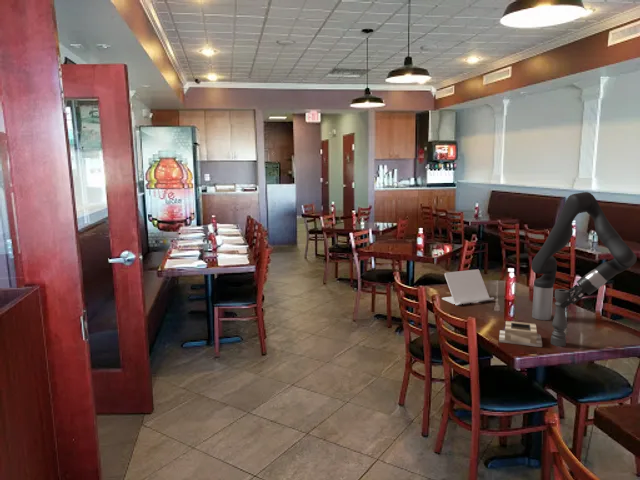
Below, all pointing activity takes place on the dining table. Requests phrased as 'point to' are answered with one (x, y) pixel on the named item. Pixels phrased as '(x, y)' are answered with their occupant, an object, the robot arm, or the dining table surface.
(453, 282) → the grey laptop
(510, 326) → the socket
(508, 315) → the dining table surface
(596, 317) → the dining table surface
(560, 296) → the candle holder
